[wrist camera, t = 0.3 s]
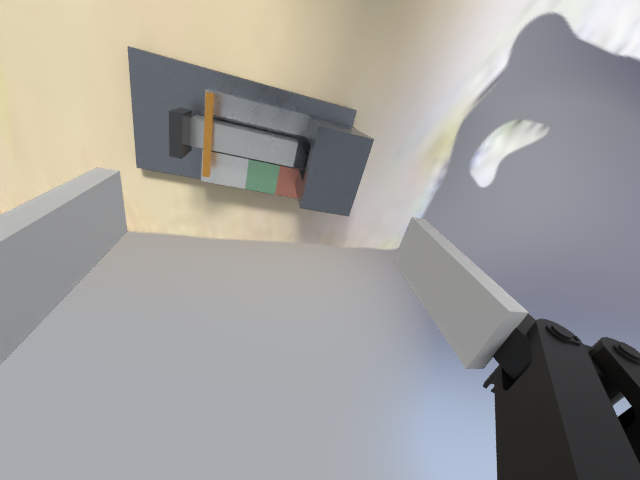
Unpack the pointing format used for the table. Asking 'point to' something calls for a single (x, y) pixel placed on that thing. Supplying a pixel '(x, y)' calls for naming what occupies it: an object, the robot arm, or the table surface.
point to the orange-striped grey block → (225, 138)
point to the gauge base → (255, 112)
